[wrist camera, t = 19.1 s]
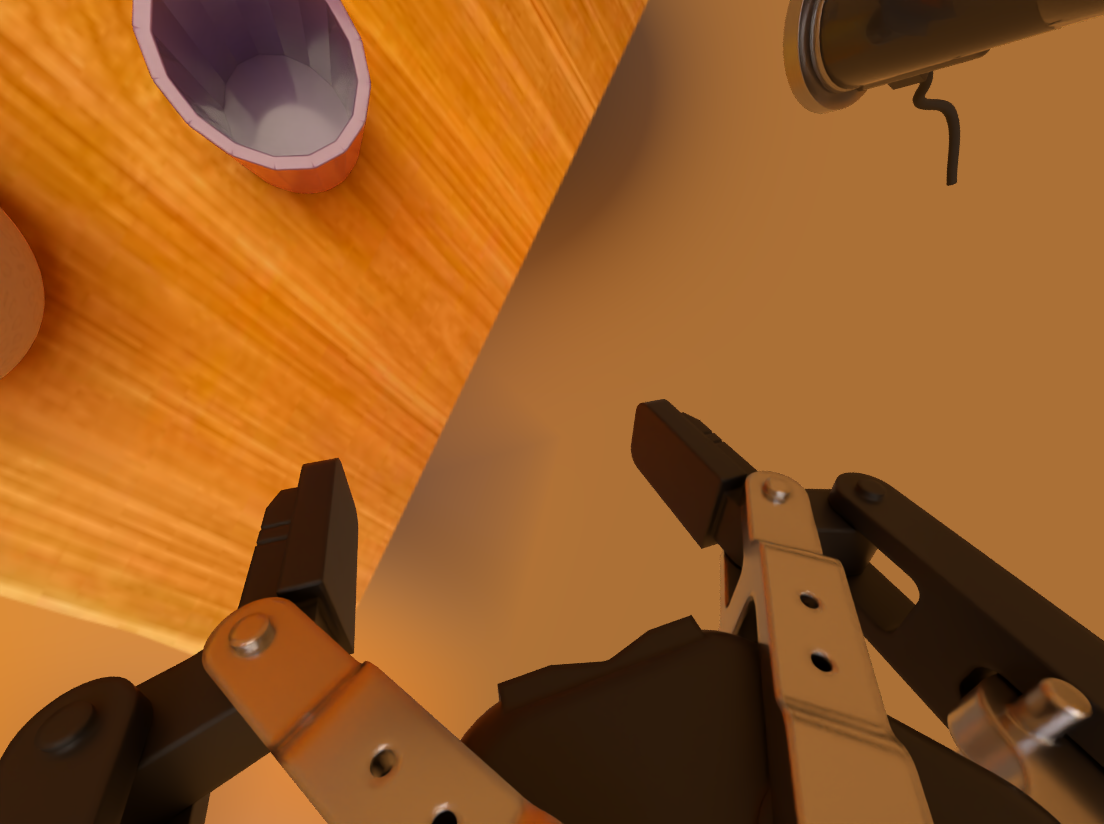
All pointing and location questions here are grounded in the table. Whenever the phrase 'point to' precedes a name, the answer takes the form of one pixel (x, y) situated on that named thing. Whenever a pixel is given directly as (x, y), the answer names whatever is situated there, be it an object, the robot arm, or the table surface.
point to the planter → (17, 295)
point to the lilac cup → (263, 82)
